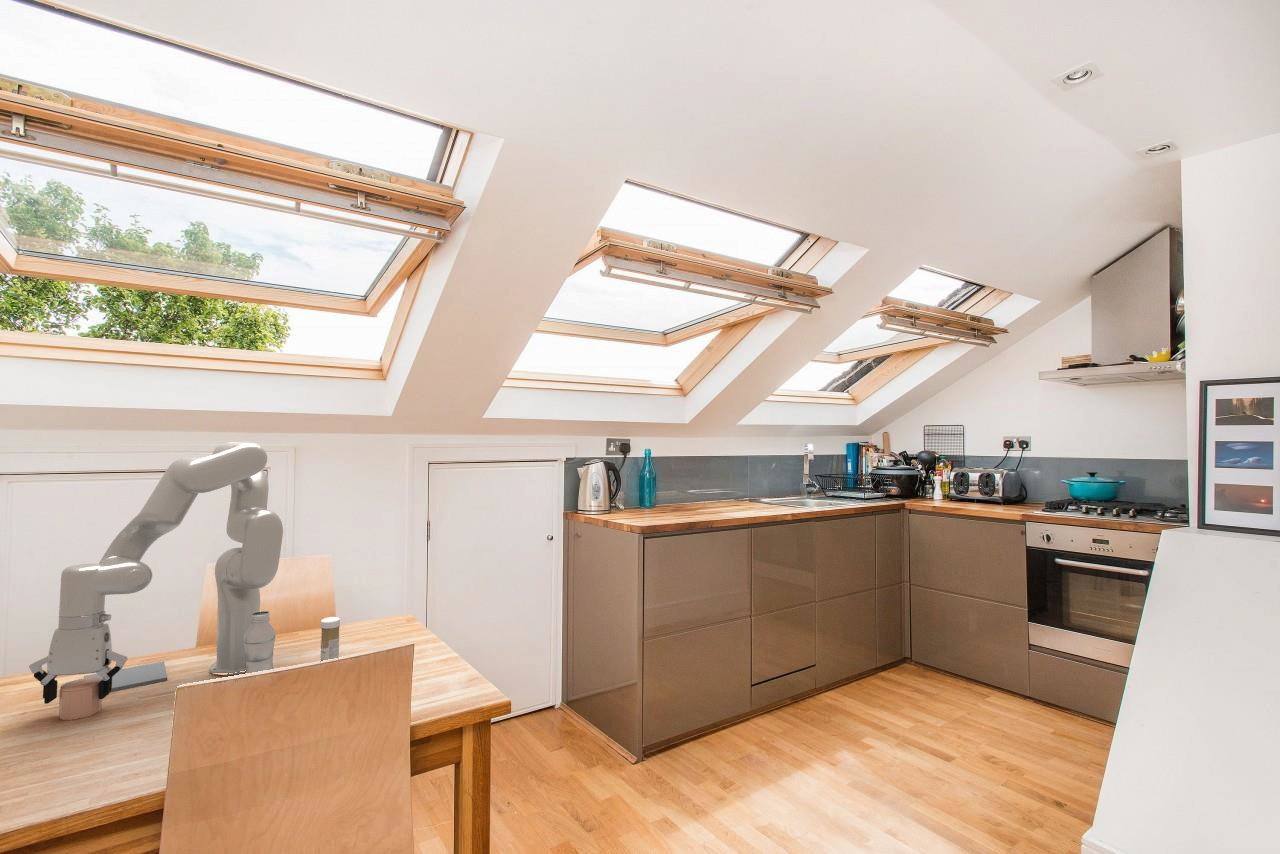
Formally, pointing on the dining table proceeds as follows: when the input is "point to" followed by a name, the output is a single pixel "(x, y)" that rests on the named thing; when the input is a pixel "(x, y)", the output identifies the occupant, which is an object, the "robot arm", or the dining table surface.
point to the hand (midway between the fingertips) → (77, 698)
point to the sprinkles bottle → (330, 638)
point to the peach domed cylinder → (79, 698)
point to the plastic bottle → (259, 643)
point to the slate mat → (137, 676)
